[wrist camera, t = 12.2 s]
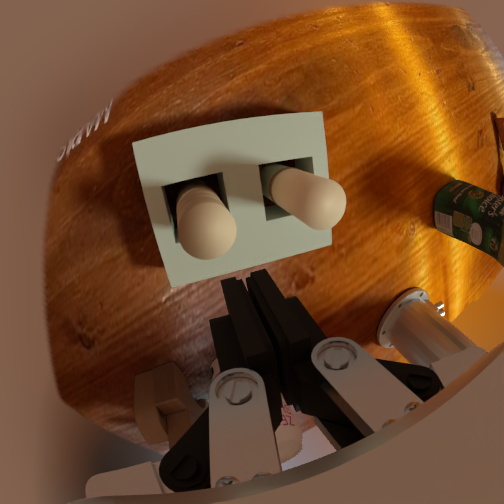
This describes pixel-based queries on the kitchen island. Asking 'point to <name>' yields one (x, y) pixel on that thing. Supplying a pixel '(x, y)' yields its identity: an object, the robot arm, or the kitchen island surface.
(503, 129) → the purple maraca
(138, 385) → the wooden toy
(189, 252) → the peg
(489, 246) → the coffee jar
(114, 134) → the kitchen island surface
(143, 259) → the kitchen island surface
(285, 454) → the supplement can
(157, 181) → the seat board
